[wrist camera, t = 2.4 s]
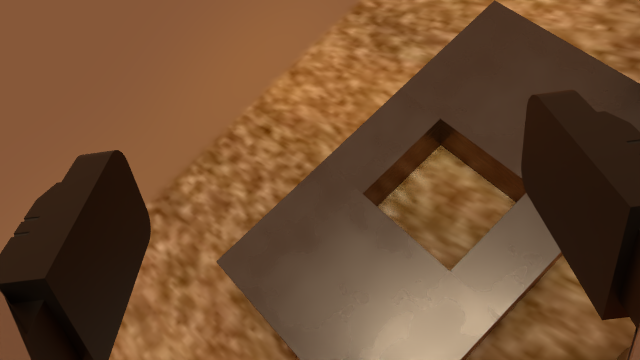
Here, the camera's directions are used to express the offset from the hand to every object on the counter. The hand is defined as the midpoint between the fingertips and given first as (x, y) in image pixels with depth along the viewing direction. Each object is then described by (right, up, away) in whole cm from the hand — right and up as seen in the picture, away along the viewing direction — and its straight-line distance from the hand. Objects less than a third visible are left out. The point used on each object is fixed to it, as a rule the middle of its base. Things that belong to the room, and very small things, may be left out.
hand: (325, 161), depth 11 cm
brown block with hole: (+7, -2, +19) cm, 21 cm away
